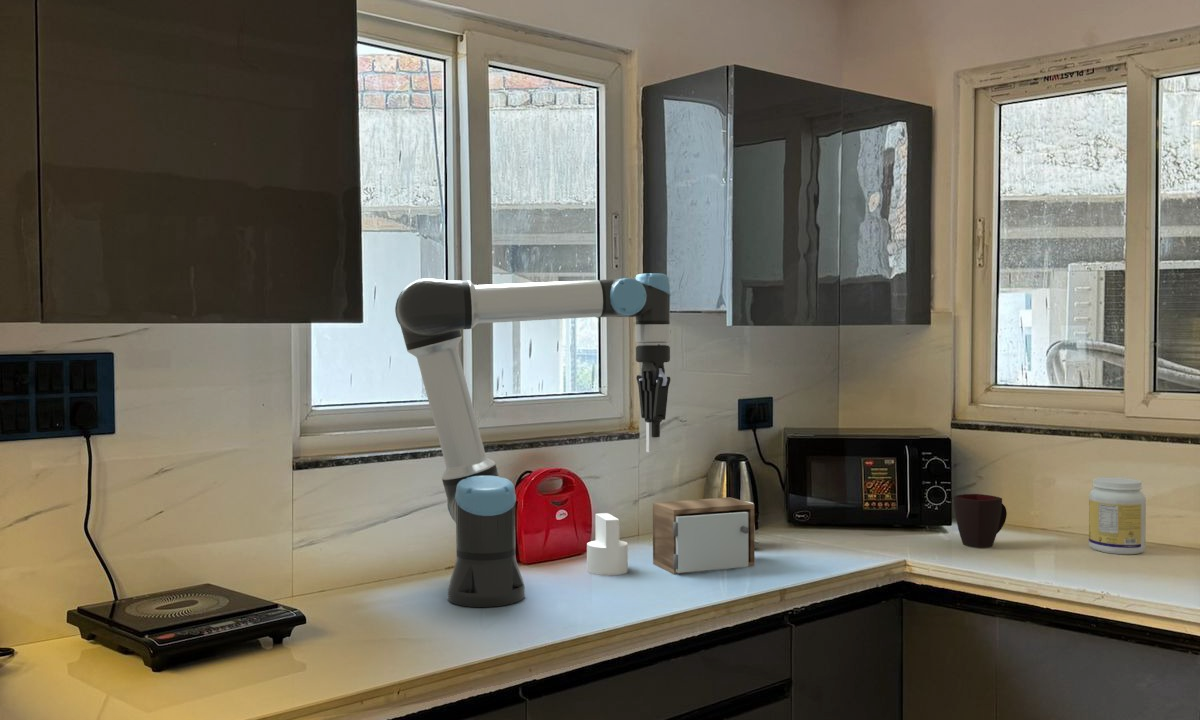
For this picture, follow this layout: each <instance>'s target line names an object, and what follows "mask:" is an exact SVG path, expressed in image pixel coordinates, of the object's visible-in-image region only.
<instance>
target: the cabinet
mask: <svg viewBox="0 0 1200 720" xmlns="http://www.w3.org/2000/svg"><path fill="white" fill-rule="evenodd" d="M749 502H750V501H746V502H745V501H744V500H741V499H738V498H734V497H715V498H702V499H687V500H673V501H657V502H655V501H654V502H652V565H654V566H656V567H658V568H660V569H662V570H665V571H667V572H668V573H670V574H672V575H680V574H681V575H682V574H691V573H703V572H710V571H711V572H712V571H714V570H705V571H694V572H683V573H677V572H676V569H674V568H673V554H676V537H675V536H673V522H676V517H678V516H692V515H707V514H721V513H736V512H748V528H749V532H748V567H747V568H750V567H751V568H753V567H755V565H756V564H755V562H756V561H755V557H756V556H755V551H756V550H755V548H756V547H755V542H756V541H755V536H754V524H755V503H753V502H751V503H749ZM752 503H753V504H752ZM742 568H744V567H739V568H738V569H742ZM733 569H734V568H728V569H727V570H733ZM721 570H722V571H723V570H724V569H717V570H716V571H721Z"/></svg>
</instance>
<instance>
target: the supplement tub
mask: <svg viewBox="0 0 1200 720" xmlns="http://www.w3.org/2000/svg"><path fill="white" fill-rule="evenodd" d="M1092 482H1093V483H1092V487H1093V488H1094V489H1091V491H1090V492H1089V496H1088V501H1089V502H1088V544H1089V547H1090V548H1091V549H1092V550H1095V551H1097V552H1102V553H1106V554H1111V555H1112V554H1113V555H1137V554H1142V553H1143V552H1144V551H1145V550H1146V528H1147V527H1146V515H1147V514H1146V513H1147V512H1146V511H1147V510H1146V503H1147V502H1146V495H1145V494H1144V493H1143V492H1142V491H1141V490H1142V489H1143V486H1142V480H1140V479H1134V478H1129V477H1115V476H1114V477H1113V476H1112V477H1110V476H1109V477H1108V476H1106V477H1105V476H1104V477H1095V478H1093V481H1092Z"/></svg>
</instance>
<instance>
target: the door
mask: <svg viewBox="0 0 1200 720" xmlns="http://www.w3.org/2000/svg"><path fill="white" fill-rule="evenodd" d="M748 532H749V528H748V512H736V513H721V514H707V515H692V516H678V517H676V522H673V536H675V537H676V554H673V568H674V569H676V572H677V573H682V574H684V573H683V572H693V573H695V572H694V571H703V572H706V571H705V570H713V571H718V570H717V569H723V570H729V569H728V568H733V569H740V568H739V567H743V568H749V567H748Z"/></svg>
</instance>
